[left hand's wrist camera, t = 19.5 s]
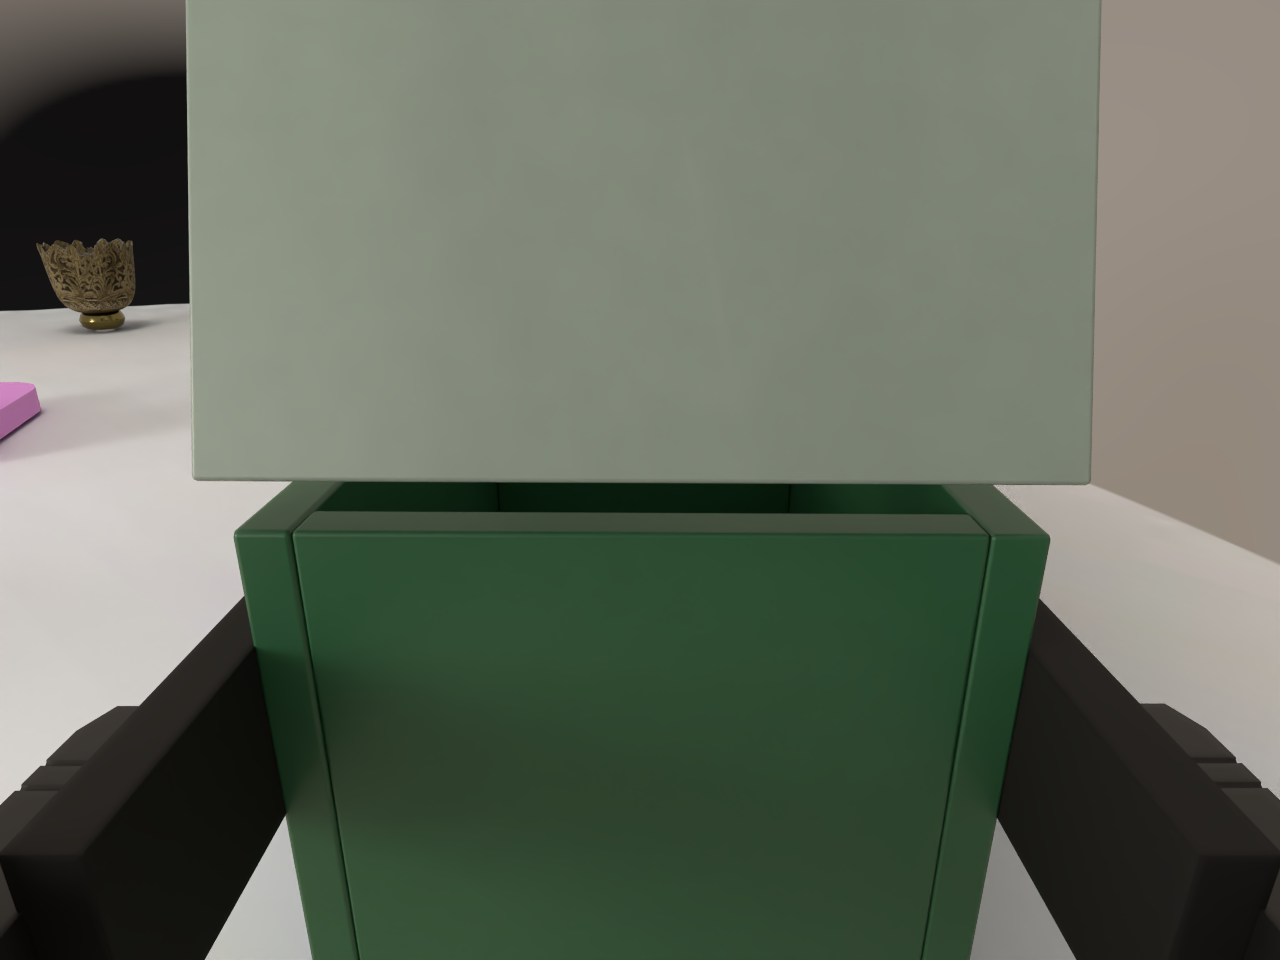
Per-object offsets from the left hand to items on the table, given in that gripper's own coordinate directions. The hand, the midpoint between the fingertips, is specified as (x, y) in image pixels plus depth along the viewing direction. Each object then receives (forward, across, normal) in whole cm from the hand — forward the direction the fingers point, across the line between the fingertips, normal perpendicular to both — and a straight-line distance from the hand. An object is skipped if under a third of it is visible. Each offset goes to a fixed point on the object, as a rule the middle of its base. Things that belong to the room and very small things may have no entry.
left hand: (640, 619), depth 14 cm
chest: (+4, 0, -6) cm, 8 cm away
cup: (+66, -51, -6) cm, 84 cm away
